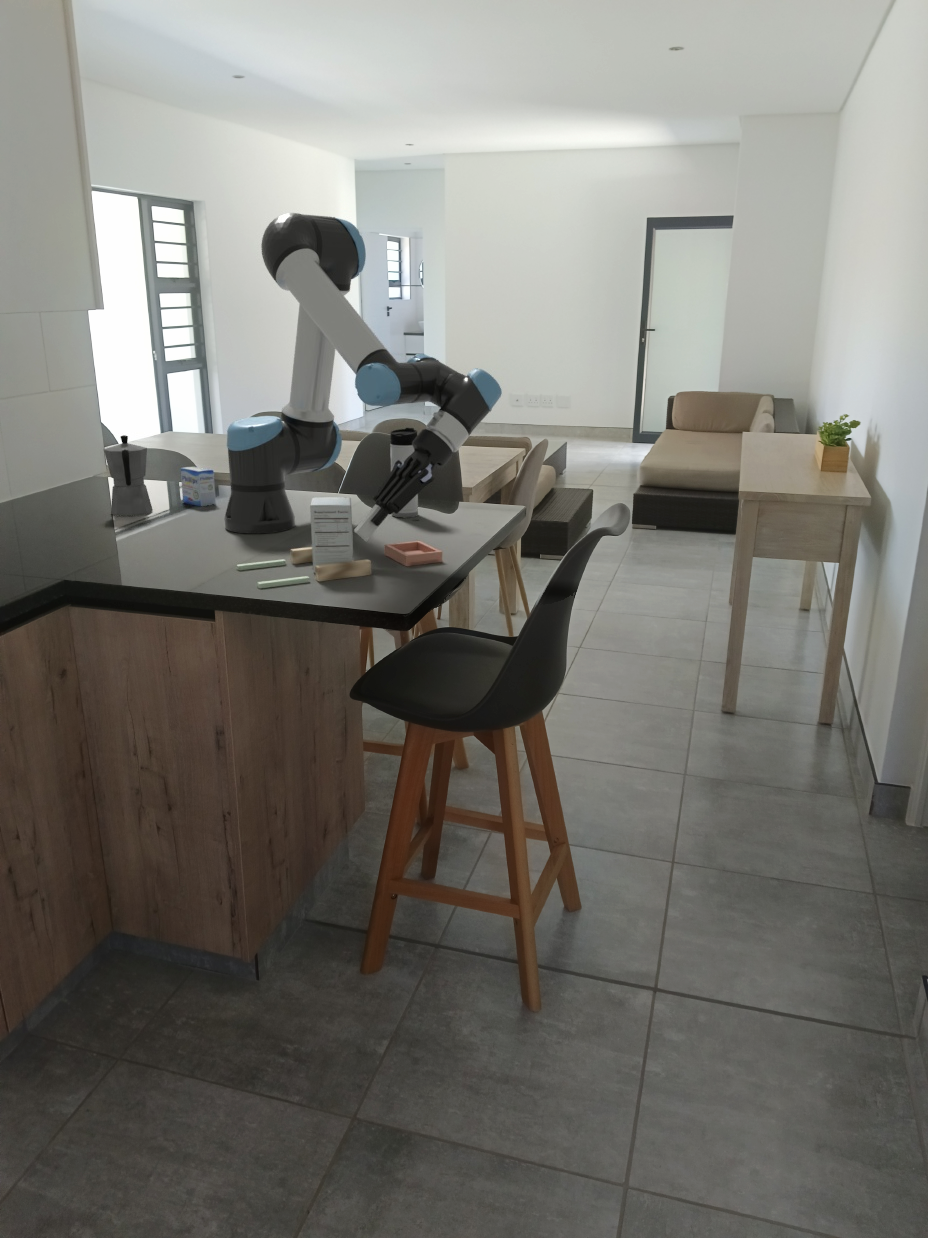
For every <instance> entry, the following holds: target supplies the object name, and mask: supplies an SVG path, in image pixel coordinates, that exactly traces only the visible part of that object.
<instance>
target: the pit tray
mask: <svg viewBox="0 0 928 1238" xmlns="http://www.w3.org/2000/svg"><path fill="white" fill-rule="evenodd" d="M383 547H384V549H383V551H384V556H386V557H388V558H391V559H392V560H394V561H396V562H397V563H399V564H401V565H403V566H405V567H411V566H418V565H426V564H427V565H428V564H434V563H435V564H436V563H443V551H442V550H440V549H437V548H436V547H433V546H431V545H430V544H427V543H425V542H423V541H421V540H415V541H414V540H413V541H404V542H398V543H387V544H384V546H383Z"/></svg>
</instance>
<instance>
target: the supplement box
mask: <svg viewBox="0 0 928 1238" xmlns="http://www.w3.org/2000/svg"><path fill="white" fill-rule="evenodd" d="M310 500H311V501H310V507H309V509H310V531H311V547H312V556H313V562H312V571H313V573H315V566H317V565H325V564H333V563H342V562H350V561H354V540H353V539H354V538H353V537H354V536H353V516H352V515H353V514H352V513H353V512H352V497H347V496H343V497H342V496H333V497H332V496H331V497H329V496H328V497H326V496H325V497H324V496H322V497H321V496H320V497H312V498H311V499H310Z"/></svg>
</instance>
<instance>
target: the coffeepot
mask: <svg viewBox="0 0 928 1238" xmlns="http://www.w3.org/2000/svg"><path fill="white" fill-rule="evenodd" d="M119 438H120V440H121V443H120V444H117V445H113V446H110V447H107V448H104V449H103V452H104V456H105V461H106V464H107V467H108V471H109V476H110V478H112V479H113V486H112V490H111V491H112V492H111V507H110V508H111V509H110V513H111V514H112V515H113V516H115V517H140V516H146V515H149V514H151V513H152V512H153V506H152V503H151V500H150V499H151V498H150V495H149V492H148V488H147V485H146V484H145V477H146V475H147V474H146V472H147V456H148V455H147V451H148V448H147V447H145V446H141V445H137V444H132V443H128V441H129V439H128V438H129V436H127V435H124V434H123V435H121V436H120V437H119Z"/></svg>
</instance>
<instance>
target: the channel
mask: <svg viewBox="0 0 928 1238" xmlns="http://www.w3.org/2000/svg"><path fill="white" fill-rule="evenodd" d="M290 562H291V563H292V564H293V565H297V564H306V563H313V556H312V546H309V547H300V548H299V547H298V548H290ZM371 575H372V562H371V560H370V559H368V558H367V559H360V560H353V561H350V562H342V563H333V564H325V565H317V566H315V581H317V582H323V581H331V580H340V579H348V578H355V577H356V578H357V577H363V576H371Z"/></svg>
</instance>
